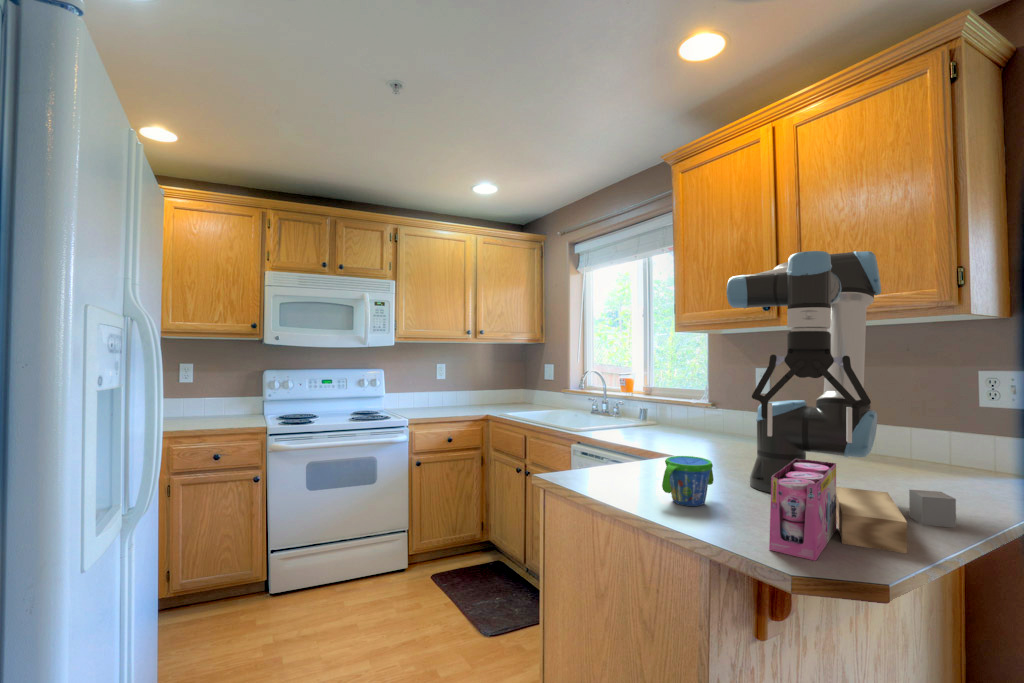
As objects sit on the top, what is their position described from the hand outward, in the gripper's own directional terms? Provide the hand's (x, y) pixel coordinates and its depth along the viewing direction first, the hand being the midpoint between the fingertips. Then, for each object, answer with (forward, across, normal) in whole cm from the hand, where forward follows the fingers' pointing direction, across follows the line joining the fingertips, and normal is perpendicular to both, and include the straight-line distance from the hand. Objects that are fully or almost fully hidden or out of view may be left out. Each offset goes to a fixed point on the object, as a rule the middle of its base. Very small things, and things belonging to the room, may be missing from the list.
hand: (808, 438), depth 104 cm
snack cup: (+19, -25, +13) cm, 34 cm away
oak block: (+20, +11, +12) cm, 25 cm away
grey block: (+19, +24, +25) cm, 39 cm away
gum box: (+20, 0, -1) cm, 20 cm away
